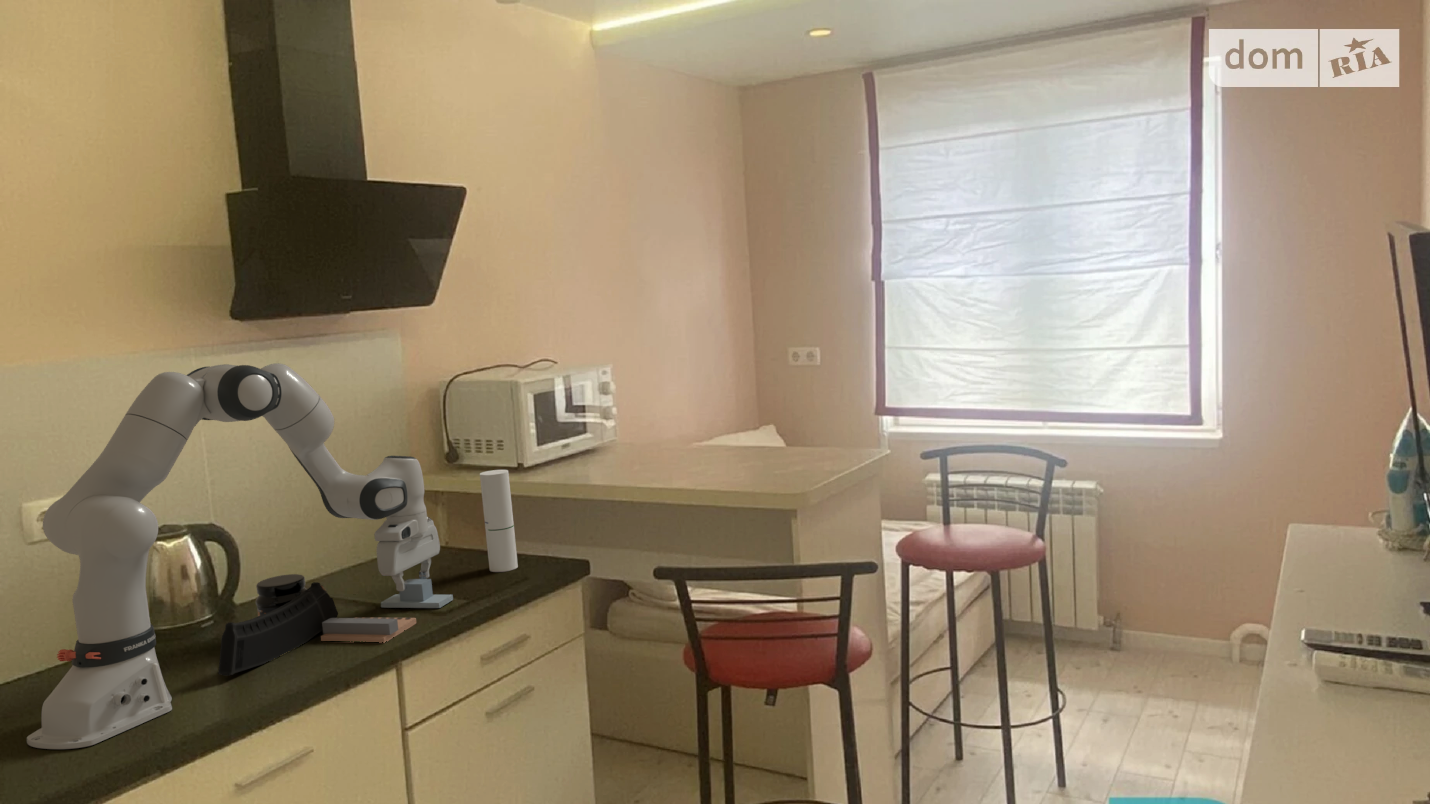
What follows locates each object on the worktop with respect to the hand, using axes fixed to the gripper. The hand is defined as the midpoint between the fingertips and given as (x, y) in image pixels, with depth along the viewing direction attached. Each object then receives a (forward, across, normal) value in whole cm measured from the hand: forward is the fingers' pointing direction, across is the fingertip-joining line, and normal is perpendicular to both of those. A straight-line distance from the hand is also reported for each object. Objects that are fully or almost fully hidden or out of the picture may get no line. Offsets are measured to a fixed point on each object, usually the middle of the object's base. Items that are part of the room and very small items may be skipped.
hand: (413, 584), depth 226 cm
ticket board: (+5, +18, 0) cm, 19 cm away
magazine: (+6, +30, -12) cm, 33 cm away
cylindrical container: (+5, -30, +7) cm, 31 cm away
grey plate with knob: (+5, -1, 0) cm, 5 cm away
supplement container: (+6, +20, -19) cm, 28 cm away
